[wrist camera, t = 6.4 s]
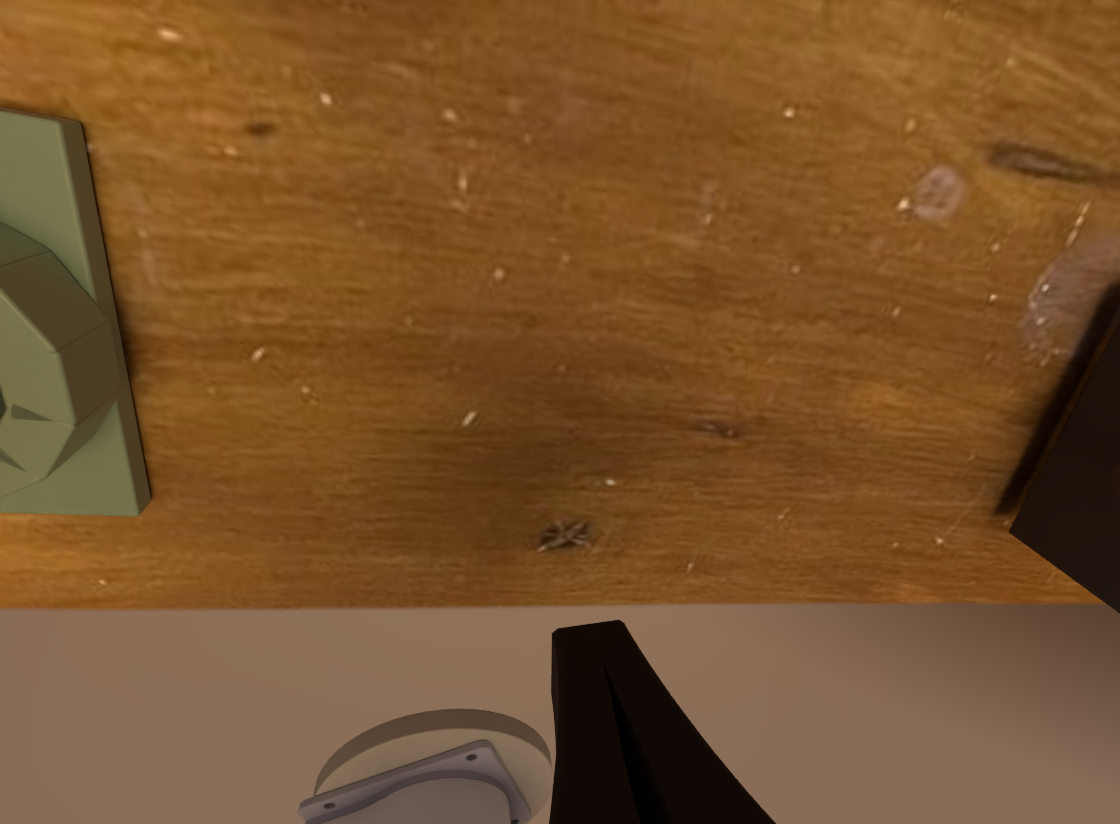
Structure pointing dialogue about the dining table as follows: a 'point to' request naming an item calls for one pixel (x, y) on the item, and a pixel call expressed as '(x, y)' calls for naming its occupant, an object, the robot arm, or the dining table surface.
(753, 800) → the robot arm
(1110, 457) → the small knobbed drawer
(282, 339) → the dining table surface
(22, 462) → the control block
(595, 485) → the dining table surface
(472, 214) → the dining table surface
